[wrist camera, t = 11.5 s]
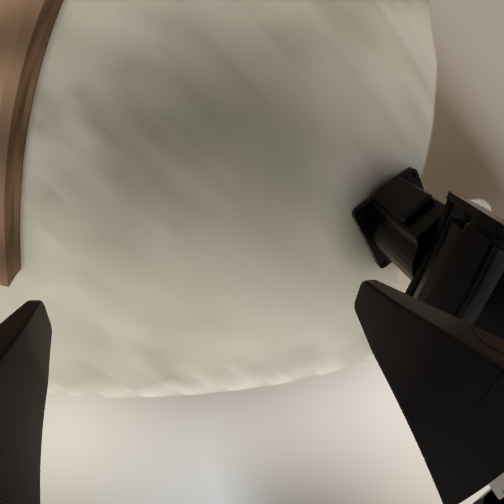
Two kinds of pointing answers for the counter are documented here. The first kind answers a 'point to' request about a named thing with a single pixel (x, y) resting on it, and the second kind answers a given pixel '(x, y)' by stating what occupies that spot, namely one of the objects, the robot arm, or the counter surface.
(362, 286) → the robot arm
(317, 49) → the counter surface
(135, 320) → the counter surface
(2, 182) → the bay
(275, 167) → the counter surface
